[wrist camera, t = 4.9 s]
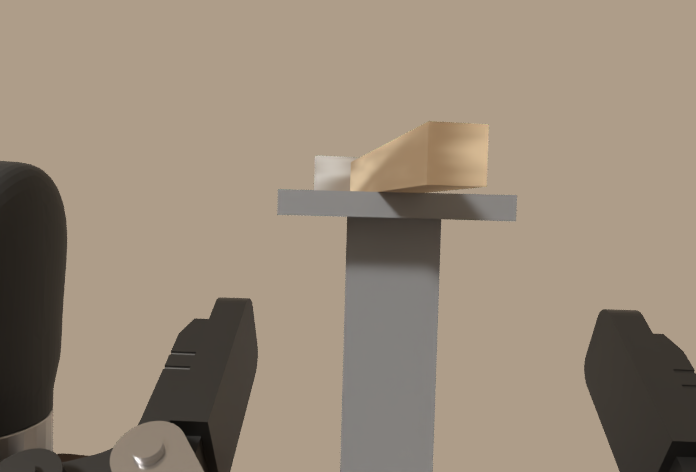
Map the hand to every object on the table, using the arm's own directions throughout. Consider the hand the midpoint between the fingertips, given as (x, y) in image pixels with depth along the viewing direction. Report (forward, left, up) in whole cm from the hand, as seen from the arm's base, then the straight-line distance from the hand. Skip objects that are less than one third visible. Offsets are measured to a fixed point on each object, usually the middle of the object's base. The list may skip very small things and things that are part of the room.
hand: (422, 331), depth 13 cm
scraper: (0, +22, +4) cm, 22 cm away
